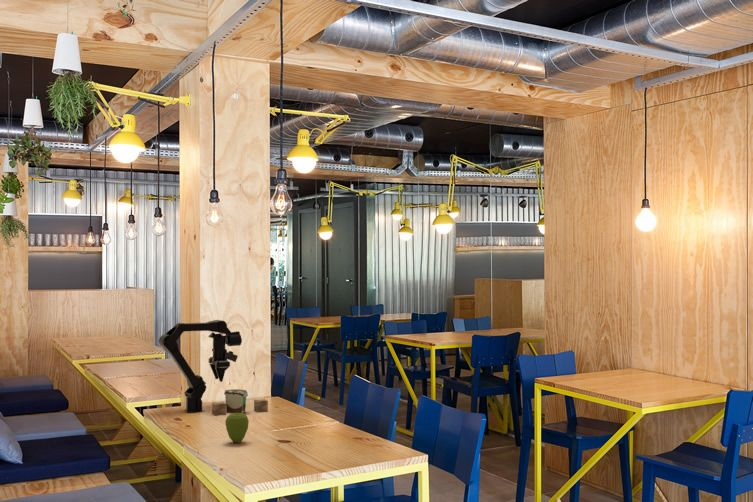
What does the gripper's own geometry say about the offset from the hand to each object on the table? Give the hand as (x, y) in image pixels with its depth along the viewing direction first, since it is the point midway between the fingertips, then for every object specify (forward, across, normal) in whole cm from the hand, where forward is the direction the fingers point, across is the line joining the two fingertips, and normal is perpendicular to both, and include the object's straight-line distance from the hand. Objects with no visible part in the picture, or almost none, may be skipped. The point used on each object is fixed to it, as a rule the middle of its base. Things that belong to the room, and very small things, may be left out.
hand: (218, 380), depth 335 cm
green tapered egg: (+13, -70, +9) cm, 72 cm away
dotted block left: (+13, -14, +3) cm, 19 cm away
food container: (+13, -14, -6) cm, 20 cm away
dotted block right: (+13, -15, -16) cm, 25 cm away
